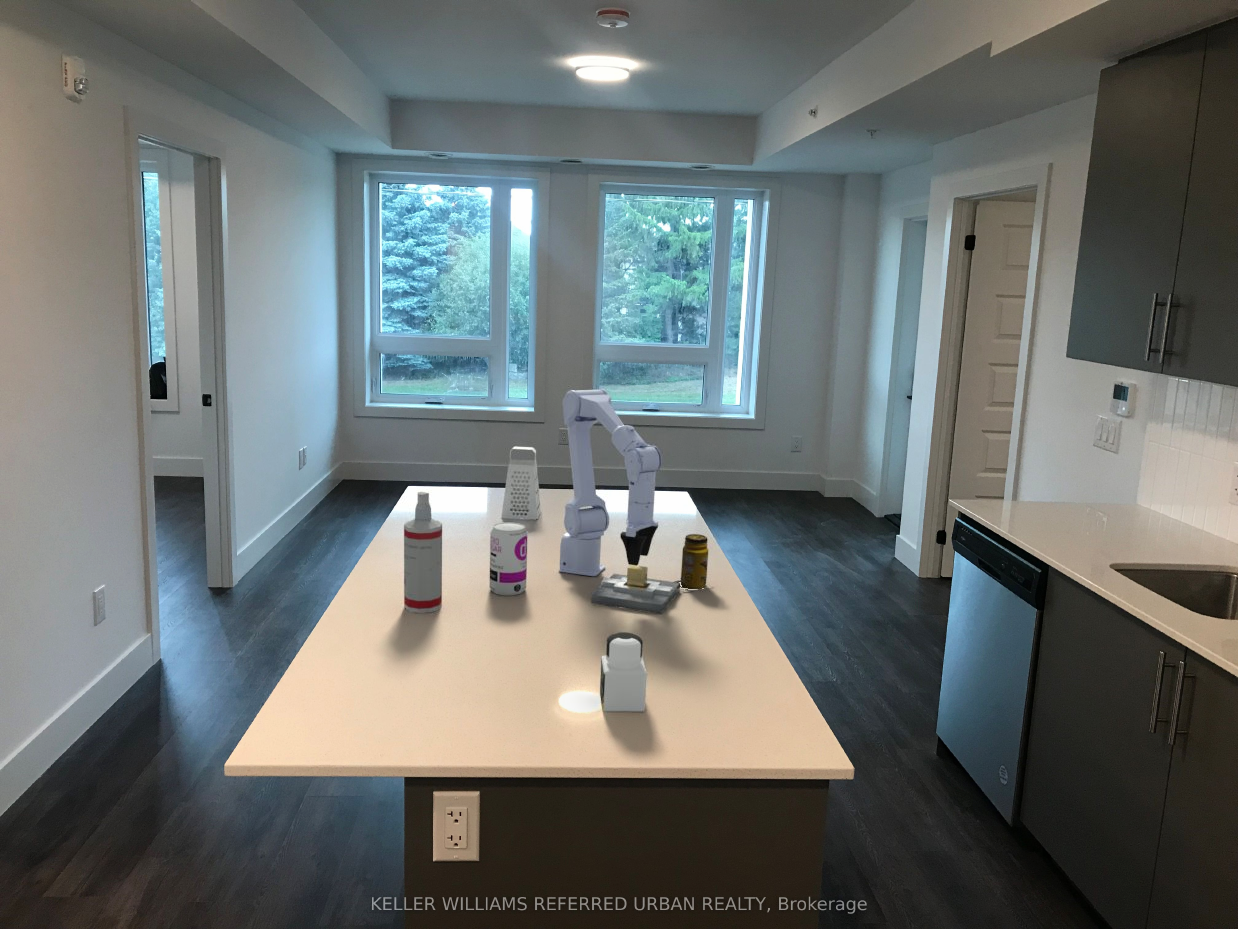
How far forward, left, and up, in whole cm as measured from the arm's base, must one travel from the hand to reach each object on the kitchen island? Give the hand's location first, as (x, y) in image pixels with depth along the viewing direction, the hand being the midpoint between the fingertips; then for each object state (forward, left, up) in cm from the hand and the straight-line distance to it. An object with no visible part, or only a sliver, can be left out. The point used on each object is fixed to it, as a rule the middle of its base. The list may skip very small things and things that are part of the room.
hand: (638, 559), depth 212 cm
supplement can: (-28, -8, -9) cm, 30 cm away
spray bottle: (-40, -25, -9) cm, 48 cm away
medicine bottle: (+13, -52, -9) cm, 54 cm away
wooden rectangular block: (0, 0, -9) cm, 9 cm away
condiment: (+9, +13, -9) cm, 18 cm away
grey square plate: (0, 0, -9) cm, 9 cm away
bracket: (0, 0, -7) cm, 7 cm away
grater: (-52, +55, -9) cm, 76 cm away
